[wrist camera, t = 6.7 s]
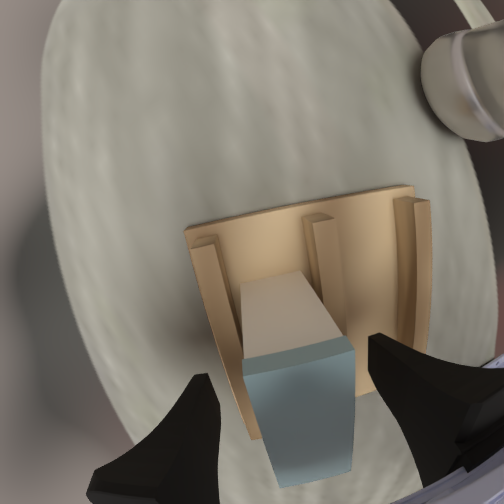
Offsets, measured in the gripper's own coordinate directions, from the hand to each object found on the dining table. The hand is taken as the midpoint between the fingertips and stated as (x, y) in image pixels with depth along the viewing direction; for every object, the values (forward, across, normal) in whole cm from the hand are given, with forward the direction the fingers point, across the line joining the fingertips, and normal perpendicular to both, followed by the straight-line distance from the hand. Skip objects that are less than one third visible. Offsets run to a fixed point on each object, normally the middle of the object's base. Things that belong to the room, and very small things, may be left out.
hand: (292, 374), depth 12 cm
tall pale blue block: (+3, 0, 0) cm, 3 cm away
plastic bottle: (+5, -14, -12) cm, 19 cm away
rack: (+4, -2, 0) cm, 5 cm away
